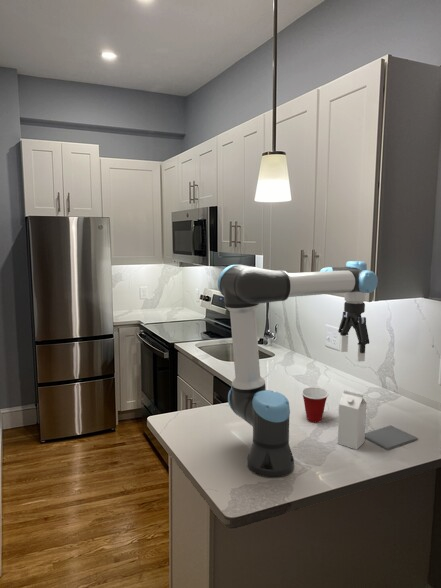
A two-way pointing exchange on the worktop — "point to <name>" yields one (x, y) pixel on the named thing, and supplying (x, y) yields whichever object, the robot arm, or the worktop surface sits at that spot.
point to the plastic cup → (314, 402)
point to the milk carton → (351, 420)
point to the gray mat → (389, 437)
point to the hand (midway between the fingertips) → (351, 356)
